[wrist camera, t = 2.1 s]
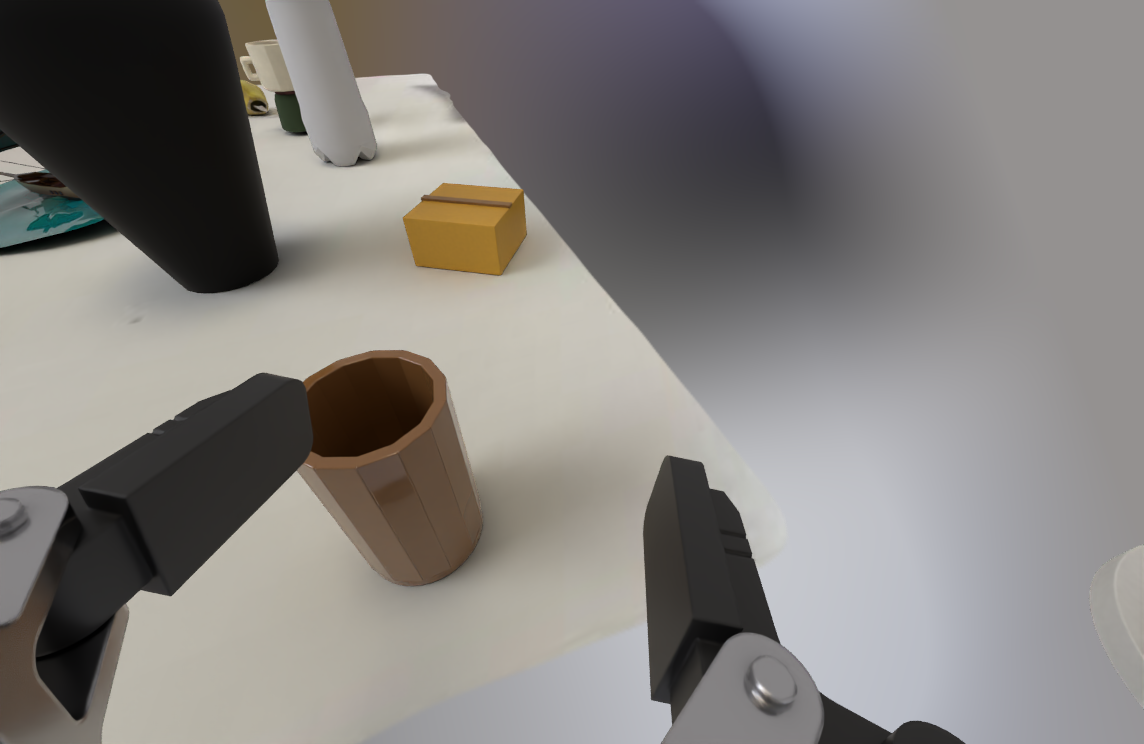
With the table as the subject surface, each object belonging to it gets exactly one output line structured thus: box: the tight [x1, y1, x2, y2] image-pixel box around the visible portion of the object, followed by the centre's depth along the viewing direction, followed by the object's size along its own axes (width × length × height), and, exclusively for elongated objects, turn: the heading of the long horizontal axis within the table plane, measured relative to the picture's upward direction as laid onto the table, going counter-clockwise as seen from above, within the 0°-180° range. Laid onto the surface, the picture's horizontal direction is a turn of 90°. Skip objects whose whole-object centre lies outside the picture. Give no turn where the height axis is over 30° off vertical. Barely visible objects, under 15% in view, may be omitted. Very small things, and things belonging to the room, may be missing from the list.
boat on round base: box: [0, 130, 104, 248], centre depth 51 cm, size 28×28×11 cm
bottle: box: [265, 0, 377, 166], centre depth 57 cm, size 9×9×30 cm
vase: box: [0, 0, 279, 293], centre depth 31 cm, size 17×17×35 cm
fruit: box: [240, 80, 268, 115], centre depth 86 cm, size 6×6×10 cm
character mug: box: [240, 40, 306, 132], centre depth 74 cm, size 11×7×13 cm, turn 103°
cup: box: [297, 350, 483, 586], centre depth 20 cm, size 6×6×10 cm
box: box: [403, 183, 527, 275], centre depth 44 cm, size 9×9×5 cm
